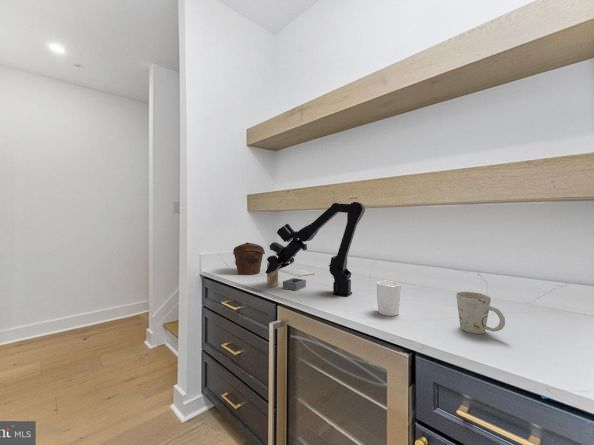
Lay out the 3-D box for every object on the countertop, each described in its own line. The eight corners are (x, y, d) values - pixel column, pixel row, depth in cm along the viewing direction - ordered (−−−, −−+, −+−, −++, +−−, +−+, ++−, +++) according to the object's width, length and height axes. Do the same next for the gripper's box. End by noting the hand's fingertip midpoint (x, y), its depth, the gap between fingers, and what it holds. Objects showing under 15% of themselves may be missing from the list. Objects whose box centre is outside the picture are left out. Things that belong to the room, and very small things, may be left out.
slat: (277, 285, 131) (278, 262, 131) (272, 287, 127) (272, 263, 127) (272, 284, 132) (272, 261, 132) (267, 286, 129) (267, 263, 128)
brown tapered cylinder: (249, 268, 175) (249, 240, 174) (271, 272, 162) (271, 242, 161) (225, 273, 161) (225, 242, 161) (247, 278, 148) (247, 244, 148)
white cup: (378, 316, 91) (378, 285, 91) (374, 308, 98) (375, 280, 98) (403, 317, 90) (403, 286, 89) (397, 309, 97) (398, 281, 97)
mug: (466, 322, 85) (466, 290, 85) (513, 338, 74) (514, 301, 74) (449, 327, 81) (450, 293, 81) (497, 344, 70) (497, 305, 70)
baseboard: (297, 278, 150) (314, 275, 157) (297, 272, 150) (314, 270, 157) (268, 269, 175) (284, 267, 182) (268, 264, 175) (284, 263, 182)
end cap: (305, 286, 129) (305, 279, 129) (296, 290, 122) (296, 283, 122) (293, 284, 133) (293, 277, 133) (282, 288, 126) (282, 281, 126)
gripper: (288, 235, 137) (268, 256, 141) (270, 237, 119) (248, 261, 124) (303, 252, 134) (282, 273, 138) (287, 257, 116) (264, 280, 121)
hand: (270, 271), depth 130 cm, fingers open, 7 cm apart
